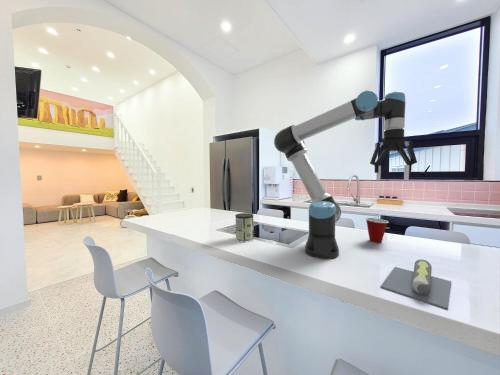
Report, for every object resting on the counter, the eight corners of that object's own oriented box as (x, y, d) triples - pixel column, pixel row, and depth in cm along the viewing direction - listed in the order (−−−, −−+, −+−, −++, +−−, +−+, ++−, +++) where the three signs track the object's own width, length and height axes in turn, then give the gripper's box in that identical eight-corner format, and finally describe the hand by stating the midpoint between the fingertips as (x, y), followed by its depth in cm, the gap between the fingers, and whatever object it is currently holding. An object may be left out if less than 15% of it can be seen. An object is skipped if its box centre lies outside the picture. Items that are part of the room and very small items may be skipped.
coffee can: (242, 235, 128) (242, 212, 127) (257, 238, 123) (256, 214, 122) (232, 240, 120) (231, 215, 119) (247, 243, 114) (247, 217, 113)
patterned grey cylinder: (415, 257, 80) (411, 278, 65) (432, 261, 77) (432, 284, 61) (414, 269, 80) (410, 293, 65) (431, 273, 77) (430, 300, 62)
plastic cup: (391, 244, 109) (392, 221, 108) (368, 243, 111) (369, 221, 110) (383, 238, 119) (383, 217, 118) (362, 237, 121) (362, 216, 121)
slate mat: (394, 267, 83) (394, 266, 83) (451, 282, 71) (451, 281, 71) (380, 287, 69) (380, 286, 69) (447, 309, 57) (447, 308, 57)
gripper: (419, 129, 94) (417, 179, 95) (363, 132, 99) (361, 179, 101) (429, 126, 86) (426, 180, 88) (367, 129, 92) (366, 180, 94)
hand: (392, 180), depth 94 cm, fingers open, 10 cm apart
